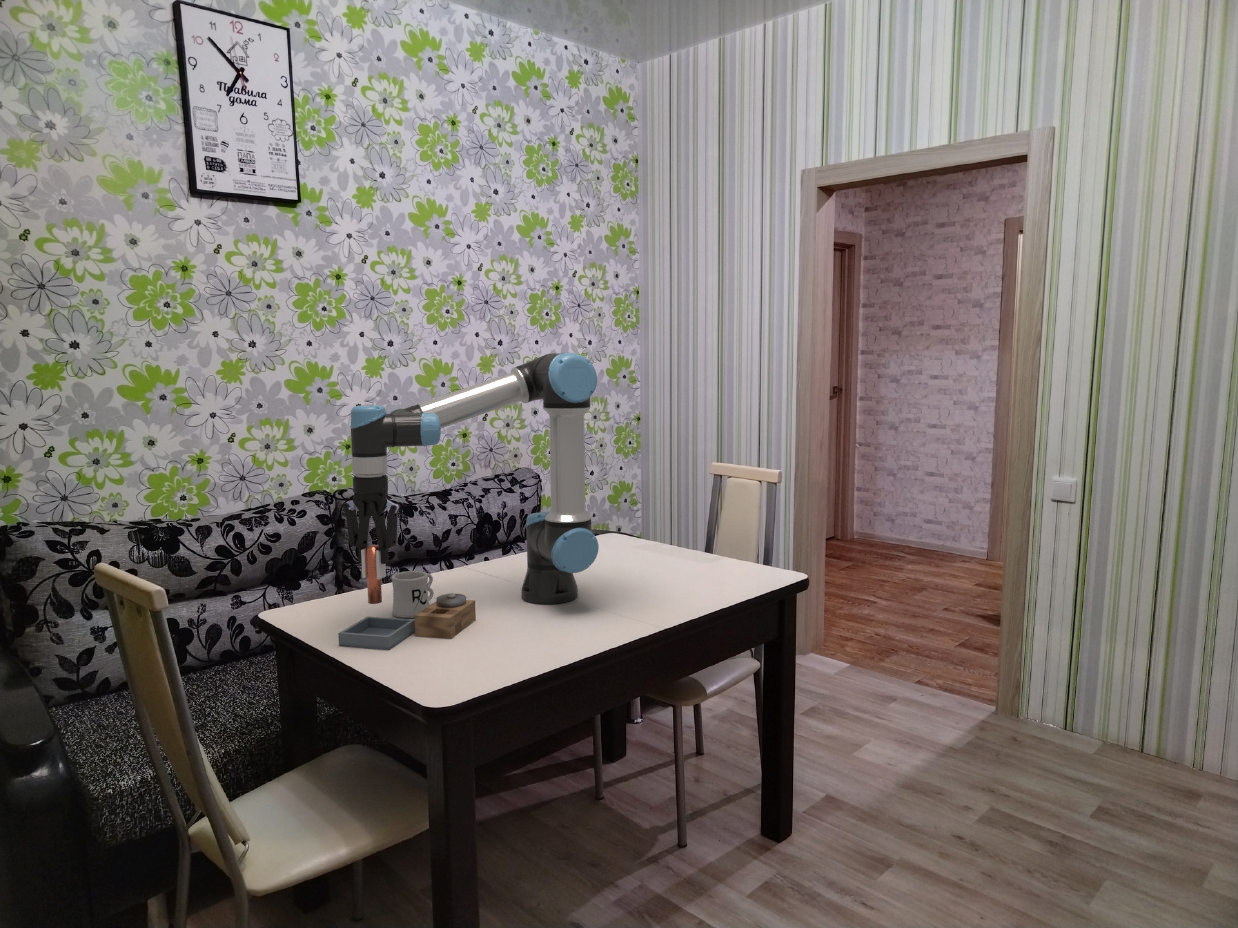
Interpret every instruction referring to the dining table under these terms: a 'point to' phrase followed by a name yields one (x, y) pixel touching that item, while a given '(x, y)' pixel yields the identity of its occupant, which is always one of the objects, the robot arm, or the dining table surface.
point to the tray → (377, 633)
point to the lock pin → (373, 576)
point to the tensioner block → (445, 617)
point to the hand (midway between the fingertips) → (374, 576)
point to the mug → (411, 593)
